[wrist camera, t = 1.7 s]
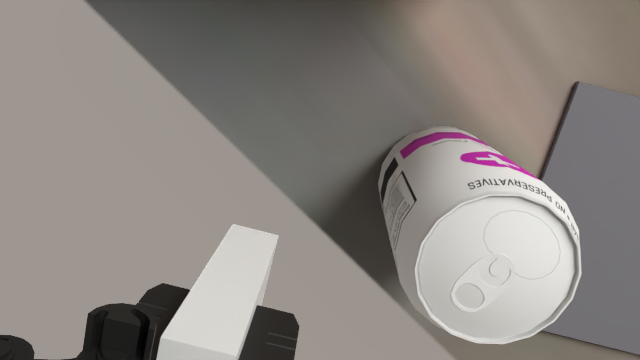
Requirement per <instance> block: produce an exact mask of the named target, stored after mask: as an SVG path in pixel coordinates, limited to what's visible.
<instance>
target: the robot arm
mask: <svg viewBox="0 0 640 360" xmlns="http://www.w3.org/2000/svg"><path fill="white" fill-rule="evenodd" d="M278 237H279V235H275V234H271V233H267V232H263V231H258V230H255V229H251V228H247V227H243V226H239V225H235V224H233V225H232V226H231V228H230V229H229V231H228V232H227V234H226V236H225V237H224V239H223V240H222V242H221V243H220V245H219V247H218V248H217V250H216V251H215V253H214V254H213V256H212V258H211V259H210V261H209V262H208V264H207V265H206V267H205V268H204V270H203V272H202V273H201V275H200V276H199V278H198V279H197V281H196V283H195V284H194V286H193V287H192V289H191V290H189V289H184V288H180V287H176V286H172V285H168V284H164V283H162V284H160V285H158V286H156V287H154V288H152V289H149V290H148V291H147V292H146V293H145V294H144V296H143V297H142V298H141V299H140V301H139V303H137V304H136V305H131V304H124V303H119V304H108V305H105V306H101V307H98V308H96V309H94V310H93V311H91V312H90V313H88V318H87V324H86V331H85V339H84V345H83V350H82V352H81V353H80V354H79V355H78V356H77V357H76V358H73V359H64V360H294V355H295V349H296V343H297V337H298V331H299V325H298V323H297V321H296V319H295V317H294V314H291V313H287V312H283V311H279V310H275V309H271V308H267V307H263V306H262V303H263V299H264V295H265V291H266V286H267V282H268V278H269V274H270V270H271V266H272V261H273V258H274V254H275V250H276V245H277V241H278ZM0 360H44V359H34V350H33V348H32V345H31V344H29V343H28V342H27V341H25V340H24V339H22V338H18V337H15V336H11V335H0Z"/></svg>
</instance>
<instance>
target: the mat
mask: <svg viewBox="0 0 640 360" xmlns="http://www.w3.org/2000/svg"><path fill="white" fill-rule="evenodd" d="M540 180H541V181H542V182H543V183H545V184H546V185H547V186H548V187H549V188H550V189H551V190H552V191H553V192H555V193H556V194H557V195H558V196H559V197H560V198H561V199H562V200H563V201H565V202H566V204H567V206H568V208H569V210H570V212H571V214H572V216H573V218H574V221H575V223H576V225H577V227H578V229H579V242H580V251H581V272H582V274H581V277H580V280H579V283H578V286H577V289H576V291H575V294H574V297H573V300H572V301H571V302H570V303H569V305H568V306H567V307H566V308H565V310H564V311H563V312H562V313H561V315H560V316H559V317H558V318H557V319H556V321H555V322H553V323H551V324H550V325H548V326H547V327H545V328H544V329H542V331H546V332H550V333H554V334H558V335H562V336H566V337H570V338H574V339H578V340H582V341H586V342H590V343H594V344H598V345H602V346H606V347H610V348H614V349H618V350H622V351H626V352H630V353H634V354H638V355H640V98H639V97H636V96H632V95H628V94H624V93H620V92H616V91H612V90H609V89H605V88H601V87H597V86H593V85H589V84H585V83H582V82H576V85H575V88H574V90H573V93H572V95H571V98H570V101H569V103H568V106H567V109H566V111H565V114H564V117H563V119H562V122H561V125H560V127H559V130H558V133H557V135H556V138H555V141H554V143H553V146H552V148H551V151H550V154H549V156H548V159H547V162H546V164H545V167H544V170H543V172H542V175H541V178H540Z"/></svg>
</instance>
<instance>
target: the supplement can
mask: <svg viewBox="0 0 640 360" xmlns="http://www.w3.org/2000/svg"><path fill="white" fill-rule="evenodd" d="M378 187H379V194H380V201H381V206H382V210H383V214H384V218H385V222H386V226H387V230H388V235H389V239H390V243H391V247H392V251H393V255H394V260H395V264H396V268H397V272H398V276H399V280H400V284H401V286H402V287H403V289H404V291H405V293H406V294H407V296H408V298H409V300H410V301H411V303H412V305H413V307H414V308H415V309H416V310H417V311H418V312H420V313H421V314H422V315H423V316H425V317H426V318H427V319H428V320H429V321H431V322H432V323H433V324H434V325H436V326H437V327H440V328H443V329H445V330H446V331H448V332H449V333H450V334H452V335H455V336H458V337H460V338H463V339H466V340H469V341H472V342H474V343H487V344H506V343H509V342H513V341H517V340H520V339H524V338H528V337H531V336H533V335H534V334H536V333H537V332H539V331H541V330H542V329H544V328H545V327H547V326H548V325H550V324H551V323H553V322H555V321H556V319H557V318H558V317H559V316H560V315H561V313H562V312H563V311H564V310H565V308H566V307H567V306H568V305H569V303H570V302H571V301H572V300H573V297H574V294H575V291H576V289H577V286H578V283H579V280H580V277H581V274H582V272H581V251H580V242H579V229H578V227H577V225H576V223H575V221H574V218H573V216H572V214H571V212H570V210H569V208H568V206H567V204H566V202H565V201H563V200H562V199H561V198H560V197H559V196H558V195H557V194H556V193H555V192H553V191H552V190H551V189H550V188H549V187H548V186H547V185H546V184H545V183H543V182H542V181H541V180H539V179H538V178H536V177H535V176H533V175H532V174H530V173H529V172H527V171H526V170H524V169H523V168H521V167H520V166H518V165H517V164H515V163H514V162H512V161H511V160H509V159H508V158H506V157H505V156H503V155H502V154H500V153H499V152H497V151H496V150H494V149H493V148H491V147H490V146H488V145H487V144H485V143H484V142H482V141H481V140H479V139H478V138H476V137H475V136H474V135H472V134H470V133H467V132H465V131H462V130H459V129H457V128H454V127H445V126H430V127H427V128H424V129H421V130H418V131H415V132H412V133H410V134H408V135H407V136H406V137H405V138H403V139H402V140H401V141H399V142H398V143H397V144H396V145H394V146H393V148H392V149H391V151H390V152H389V154H388V155H387V157H386V159H385V160H384V162H383V163H382V167H381V172H380V176H379V181H378Z"/></svg>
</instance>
